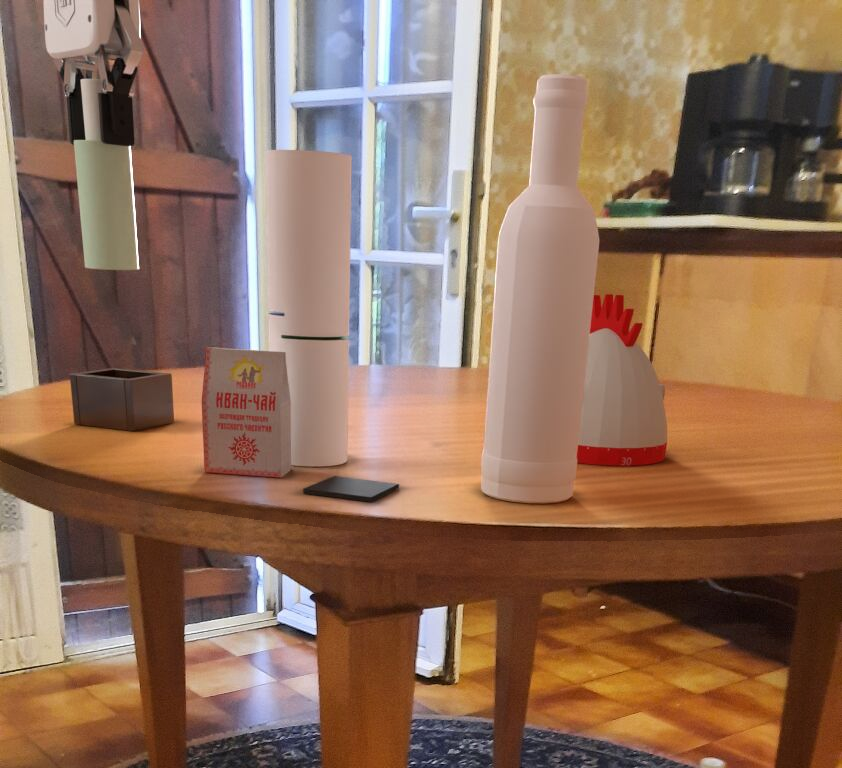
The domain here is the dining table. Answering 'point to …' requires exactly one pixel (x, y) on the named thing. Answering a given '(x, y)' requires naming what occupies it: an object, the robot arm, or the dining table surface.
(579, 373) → the bottle
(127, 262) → the bottle
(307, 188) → the cylindrical container
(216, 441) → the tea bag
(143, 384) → the box
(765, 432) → the dining table surface
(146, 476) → the dining table surface
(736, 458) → the dining table surface
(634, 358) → the kitchen timer
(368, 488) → the coaster
